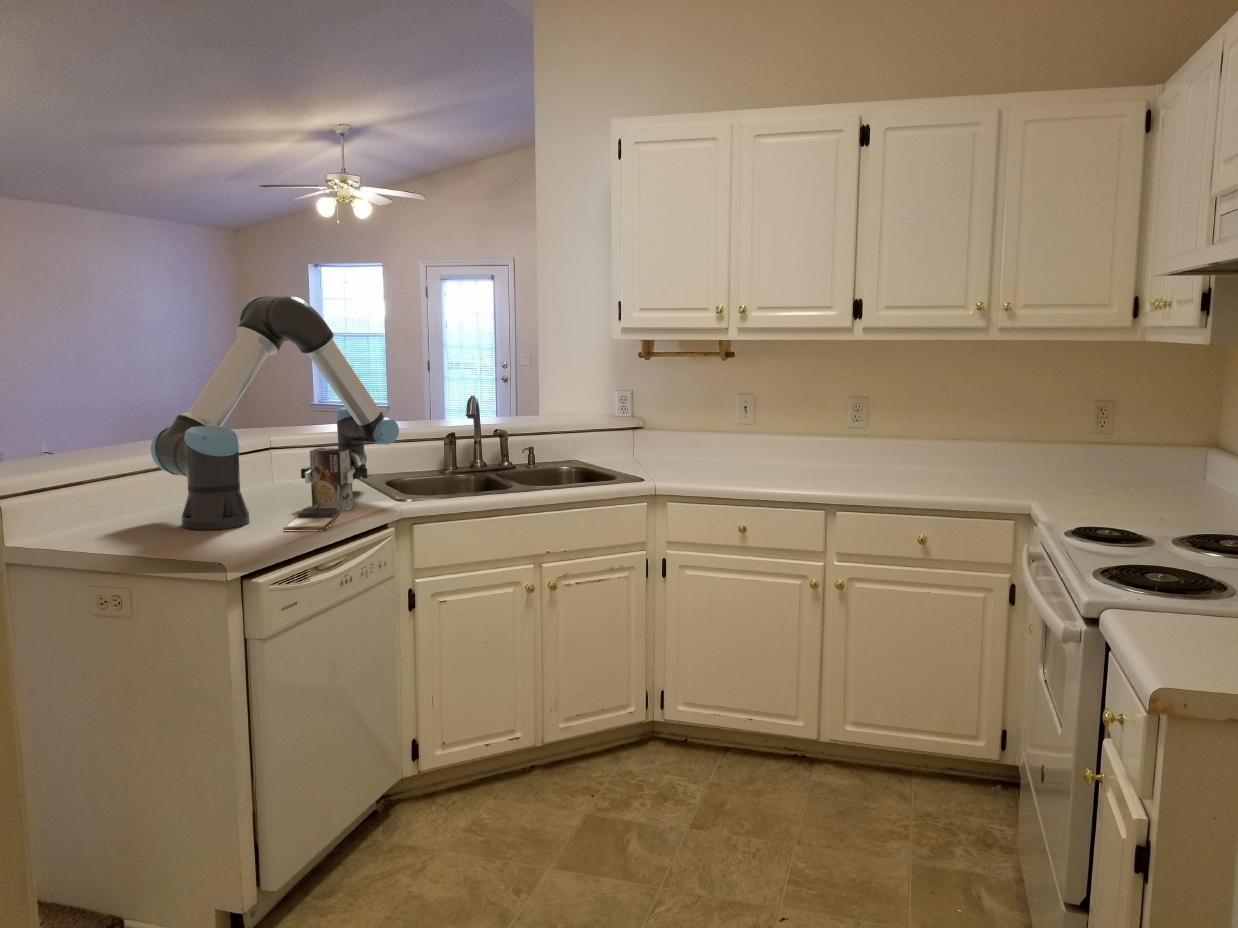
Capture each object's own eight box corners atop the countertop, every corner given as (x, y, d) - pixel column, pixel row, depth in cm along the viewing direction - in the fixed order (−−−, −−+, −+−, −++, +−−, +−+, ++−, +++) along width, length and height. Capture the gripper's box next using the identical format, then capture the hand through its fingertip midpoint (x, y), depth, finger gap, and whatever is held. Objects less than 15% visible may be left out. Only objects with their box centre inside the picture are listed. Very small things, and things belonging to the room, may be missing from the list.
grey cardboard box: (354, 507, 242) (352, 448, 240) (342, 512, 236) (340, 451, 234) (323, 505, 244) (321, 447, 242) (310, 510, 238) (308, 450, 235)
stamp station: (283, 531, 213) (282, 523, 213) (302, 515, 231) (302, 507, 231) (324, 531, 214) (324, 522, 214) (340, 515, 232) (340, 507, 232)
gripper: (385, 478, 258) (372, 492, 236) (304, 478, 256) (283, 492, 234) (385, 452, 257) (371, 464, 235) (303, 452, 255) (282, 463, 233)
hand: (327, 478), depth 234 cm, fingers closed on grey cardboard box, 10 cm apart
